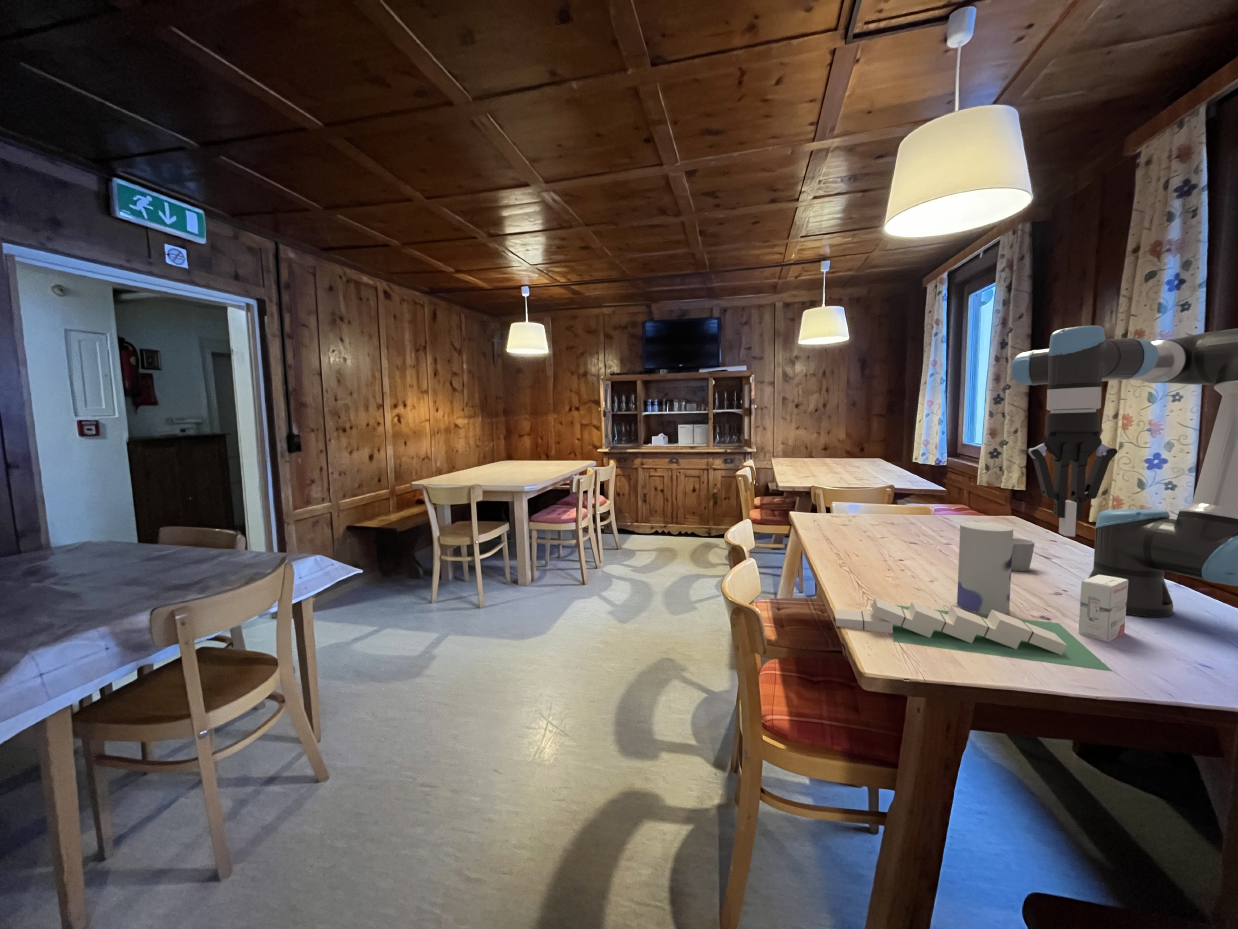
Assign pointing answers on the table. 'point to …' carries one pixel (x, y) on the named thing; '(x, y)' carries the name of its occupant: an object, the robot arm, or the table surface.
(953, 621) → the domino
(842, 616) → the domino
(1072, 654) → the felt mat
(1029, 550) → the cup
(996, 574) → the container
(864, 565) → the table surface
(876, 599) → the domino
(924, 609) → the domino
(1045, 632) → the domino
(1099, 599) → the ink box
